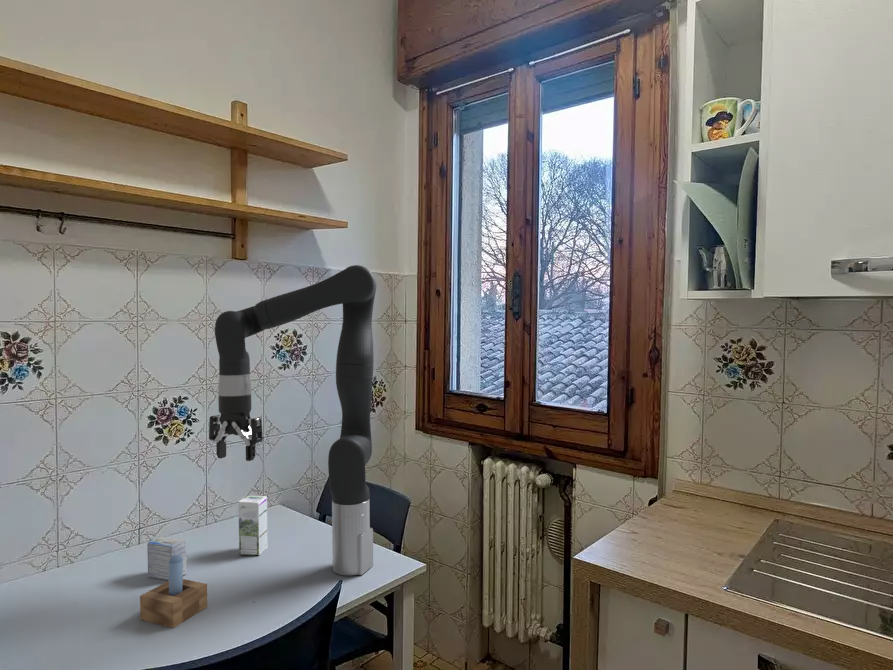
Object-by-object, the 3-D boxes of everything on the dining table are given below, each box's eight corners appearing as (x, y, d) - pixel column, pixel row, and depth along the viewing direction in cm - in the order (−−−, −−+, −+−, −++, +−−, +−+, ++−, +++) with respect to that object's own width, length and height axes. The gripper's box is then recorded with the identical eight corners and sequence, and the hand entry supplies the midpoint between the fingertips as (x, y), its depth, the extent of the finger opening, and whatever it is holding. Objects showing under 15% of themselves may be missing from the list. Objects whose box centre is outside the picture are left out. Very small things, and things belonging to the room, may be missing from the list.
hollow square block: (207, 606, 121) (206, 583, 120) (173, 627, 112) (173, 603, 112) (175, 599, 124) (175, 577, 124) (140, 619, 115) (139, 595, 115)
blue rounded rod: (185, 611, 119) (185, 553, 119) (175, 617, 116) (175, 558, 116) (175, 609, 120) (176, 551, 120) (165, 614, 117) (166, 556, 117)
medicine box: (187, 574, 137) (186, 539, 136) (172, 582, 132) (172, 546, 132) (162, 570, 139) (161, 535, 139) (147, 577, 135) (146, 542, 135)
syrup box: (268, 547, 153) (267, 494, 152) (259, 556, 147) (258, 501, 147) (248, 547, 153) (247, 494, 153) (238, 555, 147) (237, 501, 147)
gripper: (269, 392, 137) (269, 457, 138) (222, 390, 142) (223, 453, 143) (248, 395, 130) (249, 465, 130) (200, 393, 135) (201, 460, 135)
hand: (235, 459), depth 137 cm, fingers open, 8 cm apart
